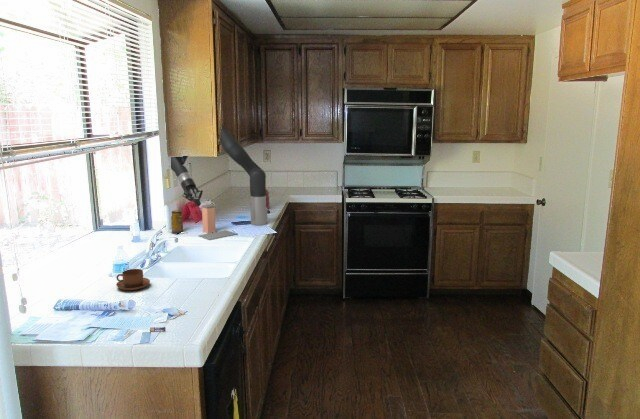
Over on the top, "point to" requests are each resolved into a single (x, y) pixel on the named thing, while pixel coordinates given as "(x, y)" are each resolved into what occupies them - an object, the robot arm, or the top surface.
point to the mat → (217, 235)
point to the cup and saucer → (132, 280)
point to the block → (208, 218)
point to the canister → (267, 198)
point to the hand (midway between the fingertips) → (199, 205)
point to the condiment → (177, 222)
